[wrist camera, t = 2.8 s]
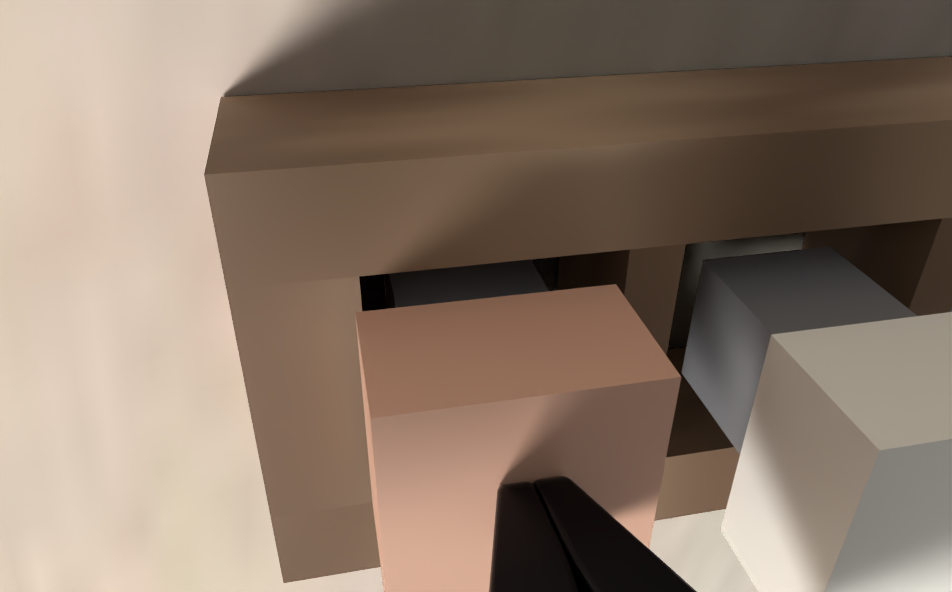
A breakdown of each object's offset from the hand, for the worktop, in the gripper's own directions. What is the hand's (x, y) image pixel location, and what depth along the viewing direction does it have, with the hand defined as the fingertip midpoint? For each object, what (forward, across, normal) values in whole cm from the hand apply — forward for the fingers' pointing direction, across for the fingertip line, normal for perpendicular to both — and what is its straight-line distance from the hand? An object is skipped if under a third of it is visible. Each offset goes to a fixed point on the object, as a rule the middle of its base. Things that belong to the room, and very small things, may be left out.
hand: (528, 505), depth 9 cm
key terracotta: (+5, 0, 0) cm, 5 cm away
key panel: (+5, -5, 0) cm, 7 cm away
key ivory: (+3, -5, 0) cm, 6 cm away
